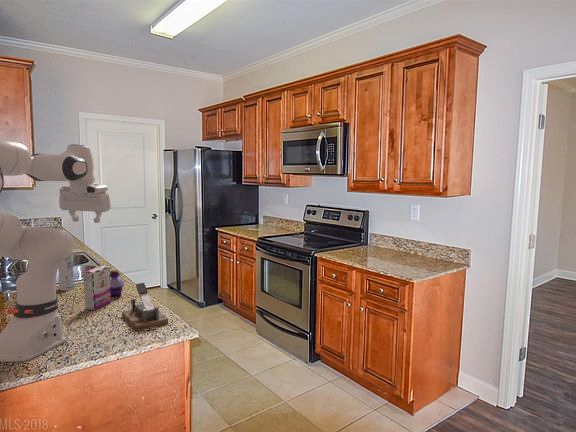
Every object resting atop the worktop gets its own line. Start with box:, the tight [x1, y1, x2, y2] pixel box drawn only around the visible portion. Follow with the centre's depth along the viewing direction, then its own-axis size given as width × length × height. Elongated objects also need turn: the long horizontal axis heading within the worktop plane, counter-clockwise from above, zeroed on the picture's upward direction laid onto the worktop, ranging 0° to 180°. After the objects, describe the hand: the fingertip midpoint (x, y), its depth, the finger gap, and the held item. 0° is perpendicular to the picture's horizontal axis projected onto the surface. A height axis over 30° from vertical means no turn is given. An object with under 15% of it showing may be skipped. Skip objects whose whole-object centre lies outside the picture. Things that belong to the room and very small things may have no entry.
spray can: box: [57, 249, 75, 292], centre depth 191 cm, size 6×6×20 cm
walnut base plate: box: [121, 309, 169, 332], centre depth 152 cm, size 18×12×2 cm, turn 38°
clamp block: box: [130, 298, 160, 323], centre depth 151 cm, size 16×6×5 cm, turn 38°
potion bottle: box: [110, 270, 125, 299], centre depth 181 cm, size 9×9×12 cm
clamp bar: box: [135, 282, 155, 312], centre depth 150 cm, size 14×3×1 cm, turn 38°
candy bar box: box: [82, 265, 112, 311], centre depth 167 cm, size 11×5×16 cm, turn 168°
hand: (86, 221), depth 153 cm, fingers open, 8 cm apart
